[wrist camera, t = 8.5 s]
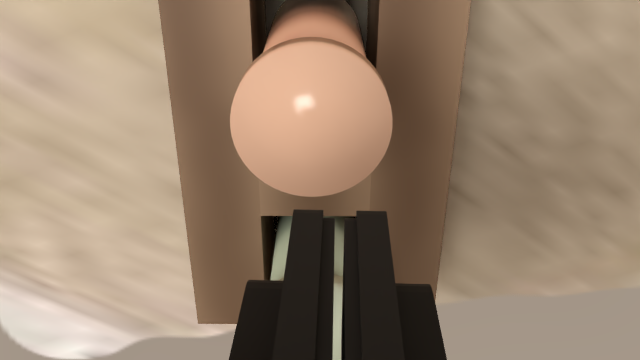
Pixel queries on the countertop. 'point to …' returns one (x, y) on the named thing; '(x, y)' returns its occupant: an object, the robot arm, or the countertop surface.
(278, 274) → the green plug
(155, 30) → the countertop surface
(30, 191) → the countertop surface
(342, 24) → the peach peg
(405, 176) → the socket block
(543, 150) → the countertop surface
